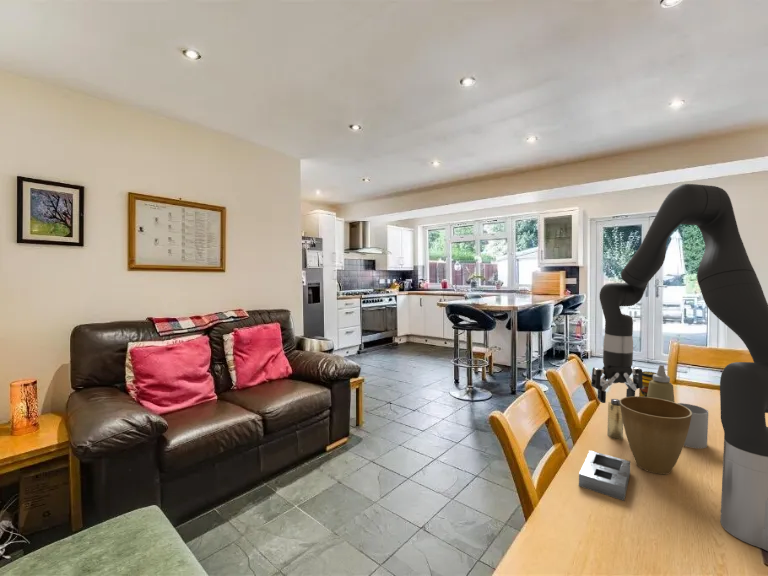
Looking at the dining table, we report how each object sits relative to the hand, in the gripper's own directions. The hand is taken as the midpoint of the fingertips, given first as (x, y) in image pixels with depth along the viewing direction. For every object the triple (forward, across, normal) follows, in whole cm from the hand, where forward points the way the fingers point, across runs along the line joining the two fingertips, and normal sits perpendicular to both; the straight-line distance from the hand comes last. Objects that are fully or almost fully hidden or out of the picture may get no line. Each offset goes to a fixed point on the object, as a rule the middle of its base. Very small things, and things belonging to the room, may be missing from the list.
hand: (616, 401), depth 111 cm
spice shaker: (+11, 0, 0) cm, 11 cm away
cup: (+11, +19, -4) cm, 22 cm away
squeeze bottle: (+11, +24, +13) cm, 30 cm away
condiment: (+11, +30, +26) cm, 41 cm away
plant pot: (+11, -2, -17) cm, 20 cm away
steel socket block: (+10, -17, -22) cm, 30 cm away
